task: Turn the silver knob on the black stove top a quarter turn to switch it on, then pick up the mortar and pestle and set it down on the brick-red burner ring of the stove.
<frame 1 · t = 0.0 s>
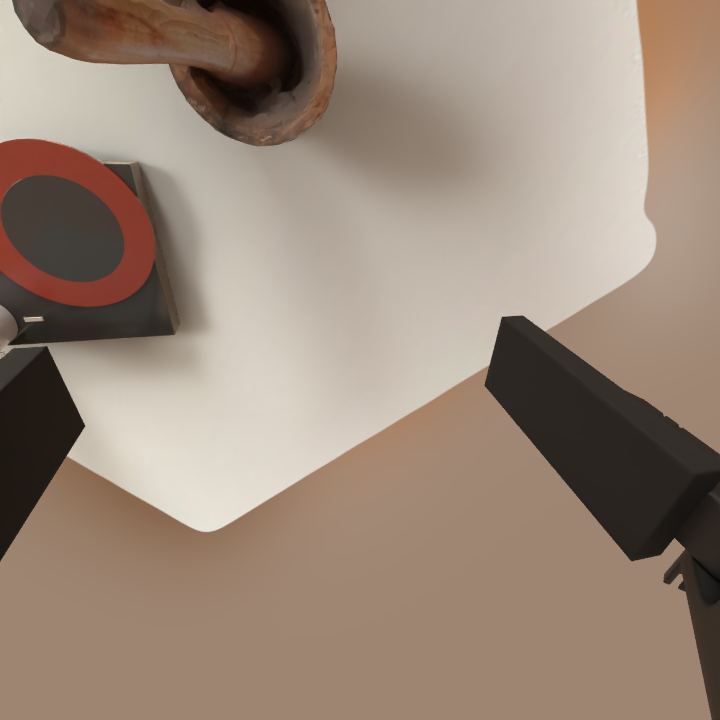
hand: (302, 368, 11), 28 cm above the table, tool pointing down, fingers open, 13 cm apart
mortar and pestle: (242, 85, 30), on the table
burner: (80, 225, 32), resting on stove
stove: (53, 254, 33), on the table
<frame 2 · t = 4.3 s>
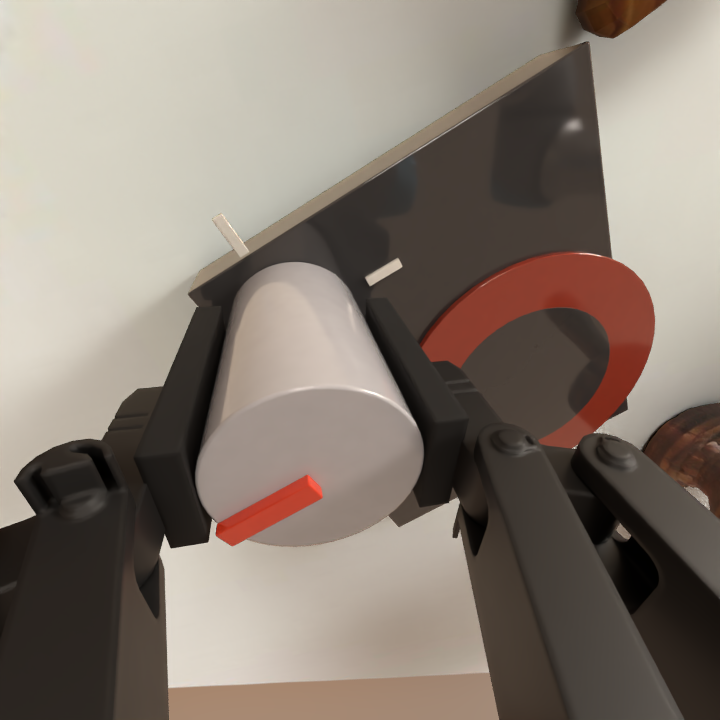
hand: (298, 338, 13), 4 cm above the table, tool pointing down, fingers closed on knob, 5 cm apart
mortar and pestle: (675, 426, 28), on the table
burner: (500, 357, 20), resting on stove
stove: (441, 340, 19), on the table
knob: (304, 382, 11), point 6 cm above the table, hinge at 0.0°, touching gripper
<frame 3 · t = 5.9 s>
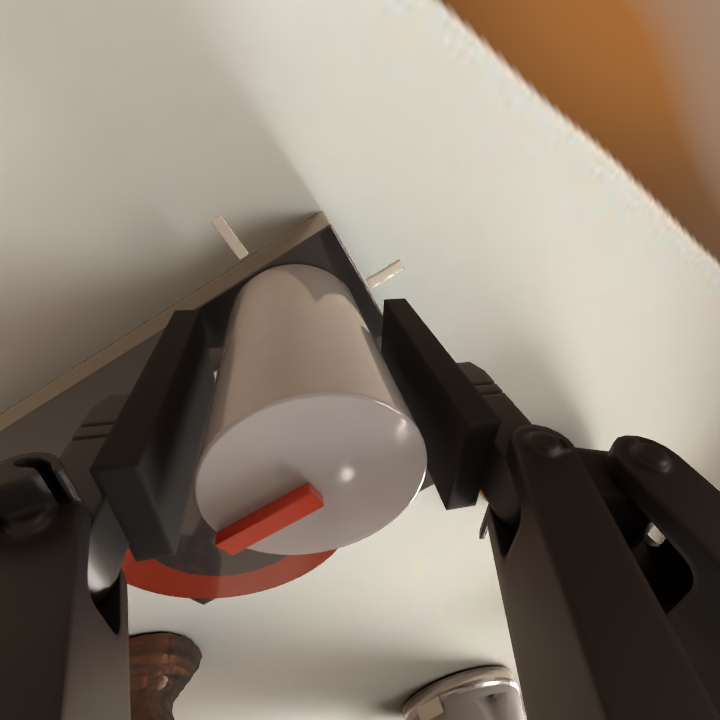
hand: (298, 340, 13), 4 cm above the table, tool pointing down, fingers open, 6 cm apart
mortar and pestle: (163, 641, 28), on the table
burner: (234, 484, 21), resting on stove
stove: (251, 433, 19), on the table
knob: (304, 386, 11), point 6 cm above the table, hinge at 90.1°
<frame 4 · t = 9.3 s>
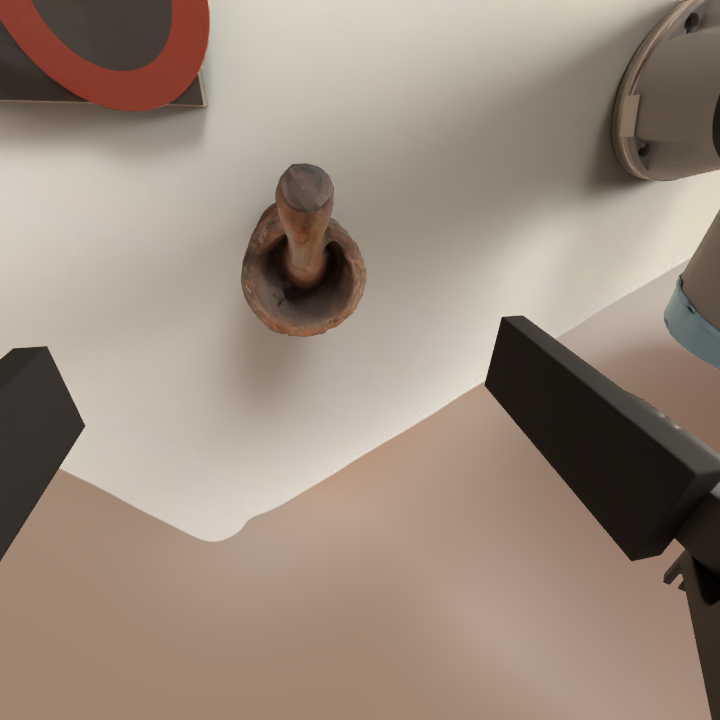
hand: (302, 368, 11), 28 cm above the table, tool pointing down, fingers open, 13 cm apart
mortar and pestle: (287, 221, 36), on the table
burner: (114, 0, 26), resting on stove
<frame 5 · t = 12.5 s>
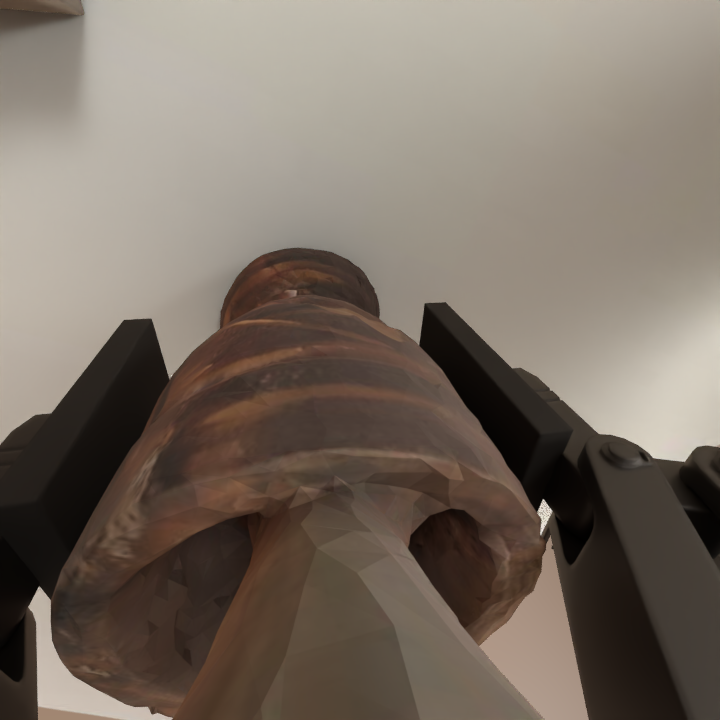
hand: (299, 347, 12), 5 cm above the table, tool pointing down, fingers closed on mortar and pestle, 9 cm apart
mortar and pestle: (290, 289, 17), on the table, touching gripper
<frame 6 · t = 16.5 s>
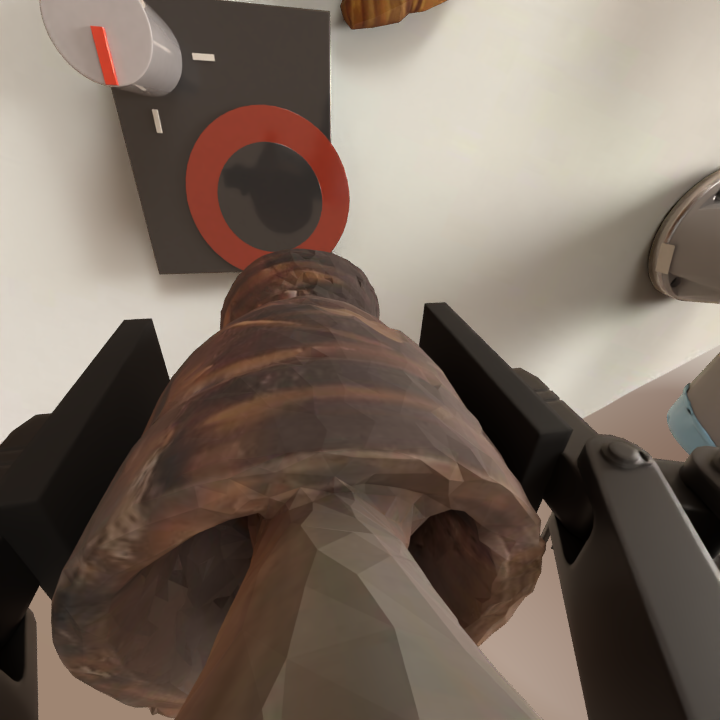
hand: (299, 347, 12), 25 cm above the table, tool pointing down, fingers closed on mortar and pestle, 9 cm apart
mortar and pestle: (290, 289, 17), point 20 cm above the table, touching gripper
burner: (271, 195, 33), resting on stove
stove: (237, 156, 30), on the table
knob: (122, 40, 21), point 6 cm above the table, hinge at 90.1°
when the fingers open (8 cm above the table, at t = 20.8 s): mortar and pestle stays where it is, resting on burner.
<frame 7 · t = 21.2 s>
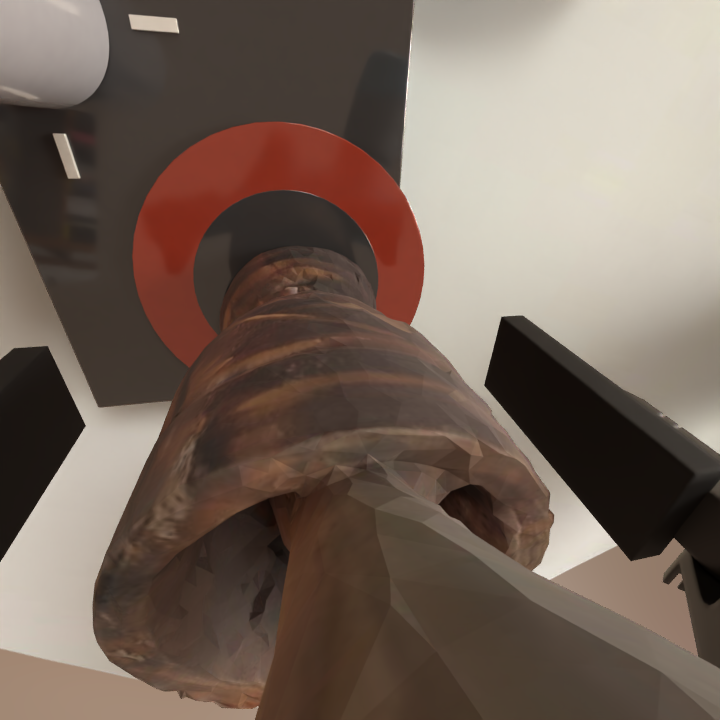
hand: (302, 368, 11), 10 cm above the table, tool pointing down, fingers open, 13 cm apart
mortar and pestle: (288, 286, 17), point 3 cm above the table, touching burner
burner: (288, 269, 19), resting on stove
stove: (230, 208, 17), on the table
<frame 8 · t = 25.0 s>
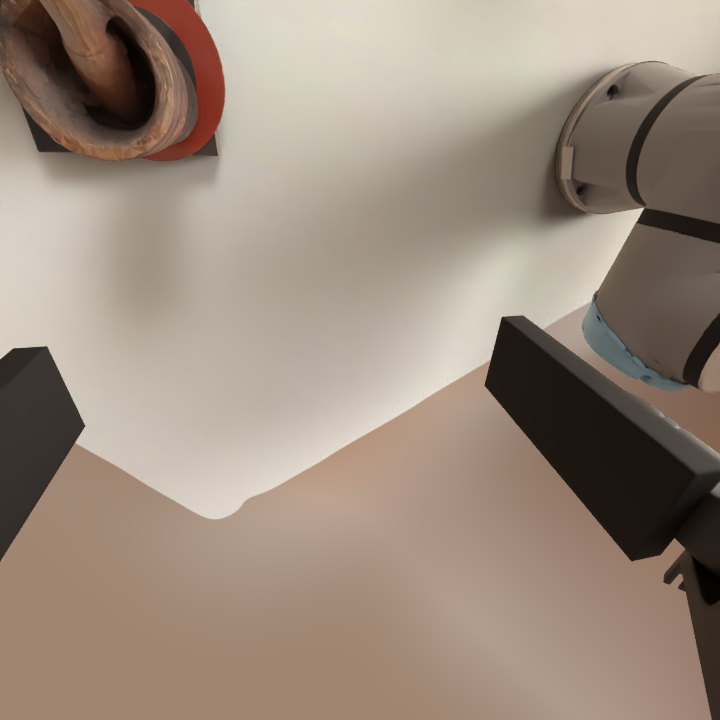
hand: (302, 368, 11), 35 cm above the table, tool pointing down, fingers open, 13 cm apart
mortar and pestle: (141, 72, 31), point 3 cm above the table, touching burner
burner: (151, 76, 33), resting on stove
stove: (109, 30, 31), on the table
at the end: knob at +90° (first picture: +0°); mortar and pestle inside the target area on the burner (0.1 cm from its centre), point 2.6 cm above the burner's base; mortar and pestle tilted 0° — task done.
